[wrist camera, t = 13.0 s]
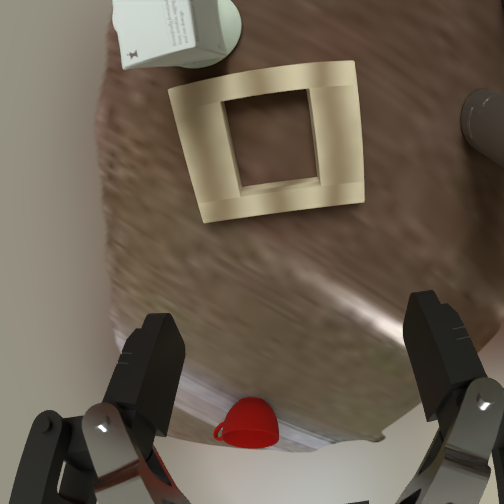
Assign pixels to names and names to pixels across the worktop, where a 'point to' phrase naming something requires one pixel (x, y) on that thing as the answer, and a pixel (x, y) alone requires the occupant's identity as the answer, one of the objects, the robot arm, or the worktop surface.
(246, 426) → the ceramic cup
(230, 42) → the pale green disc
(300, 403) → the worktop surface
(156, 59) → the skincare box
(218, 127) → the pocket board
